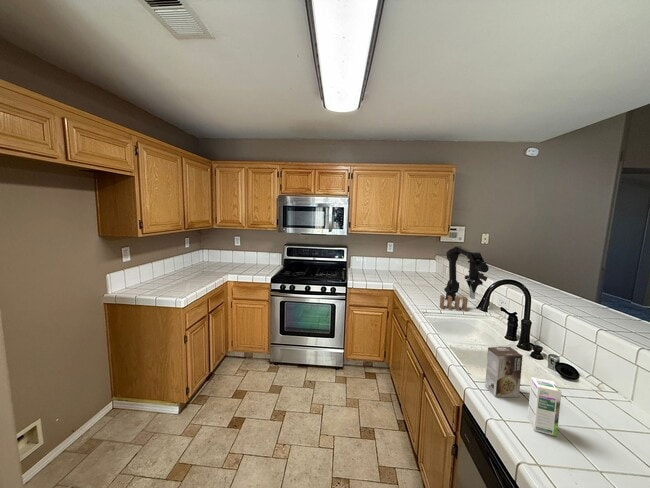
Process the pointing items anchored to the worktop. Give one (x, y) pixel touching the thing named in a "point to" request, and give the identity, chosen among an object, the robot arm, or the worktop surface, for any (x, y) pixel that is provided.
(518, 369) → the coffee box
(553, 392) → the syrup box
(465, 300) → the domino
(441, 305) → the domino
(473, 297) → the domino
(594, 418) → the worktop surface
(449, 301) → the domino
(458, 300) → the domino
